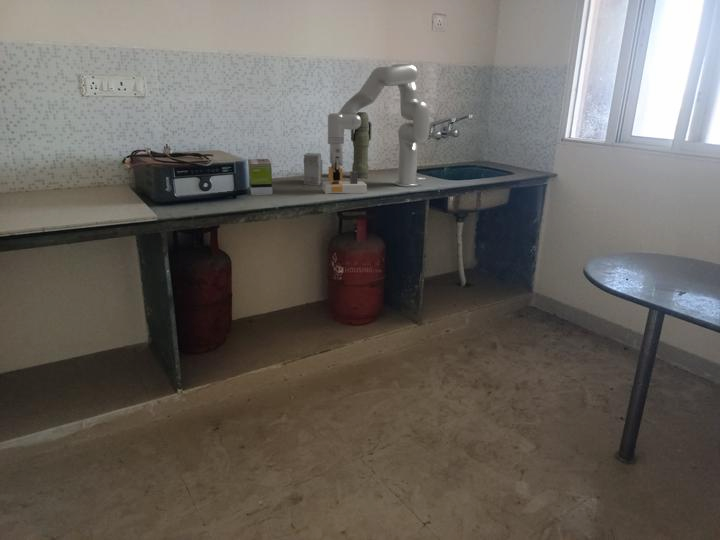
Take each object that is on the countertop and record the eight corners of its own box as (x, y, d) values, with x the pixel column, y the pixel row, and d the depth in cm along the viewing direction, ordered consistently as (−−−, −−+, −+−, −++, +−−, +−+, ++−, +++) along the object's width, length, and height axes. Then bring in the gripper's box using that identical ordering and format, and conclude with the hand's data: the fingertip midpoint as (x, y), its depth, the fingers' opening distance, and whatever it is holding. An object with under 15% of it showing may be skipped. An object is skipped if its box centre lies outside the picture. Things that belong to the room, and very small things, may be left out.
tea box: (249, 189, 255) (247, 158, 250) (270, 188, 258) (269, 158, 253) (251, 195, 242) (249, 163, 237) (273, 195, 244) (272, 162, 239)
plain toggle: (355, 185, 258) (356, 171, 255) (357, 186, 255) (357, 172, 252) (349, 185, 257) (350, 171, 255) (351, 186, 254) (351, 172, 252)
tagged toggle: (337, 190, 257) (337, 176, 254) (338, 192, 254) (338, 177, 251) (331, 191, 256) (331, 176, 254) (332, 192, 253) (332, 177, 251)
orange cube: (340, 179, 256) (340, 166, 254) (342, 181, 251) (342, 168, 249) (328, 179, 255) (328, 166, 253) (330, 181, 250) (330, 168, 248)
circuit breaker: (322, 180, 283) (322, 152, 278) (318, 185, 269) (318, 155, 264) (309, 179, 283) (308, 151, 278) (303, 184, 270) (303, 155, 265)
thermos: (373, 177, 295) (375, 112, 283) (356, 179, 288) (357, 113, 276) (364, 175, 302) (365, 111, 290) (347, 176, 295) (348, 112, 283)
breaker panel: (362, 189, 262) (362, 180, 261) (366, 193, 253) (367, 184, 251) (322, 189, 258) (322, 181, 257) (325, 194, 249) (325, 184, 248)
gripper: (346, 142, 240) (346, 182, 246) (340, 138, 255) (340, 176, 262) (330, 142, 238) (330, 182, 244) (325, 138, 254) (325, 176, 260)
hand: (335, 178), depth 253 cm, fingers closed on orange cube, 5 cm apart
